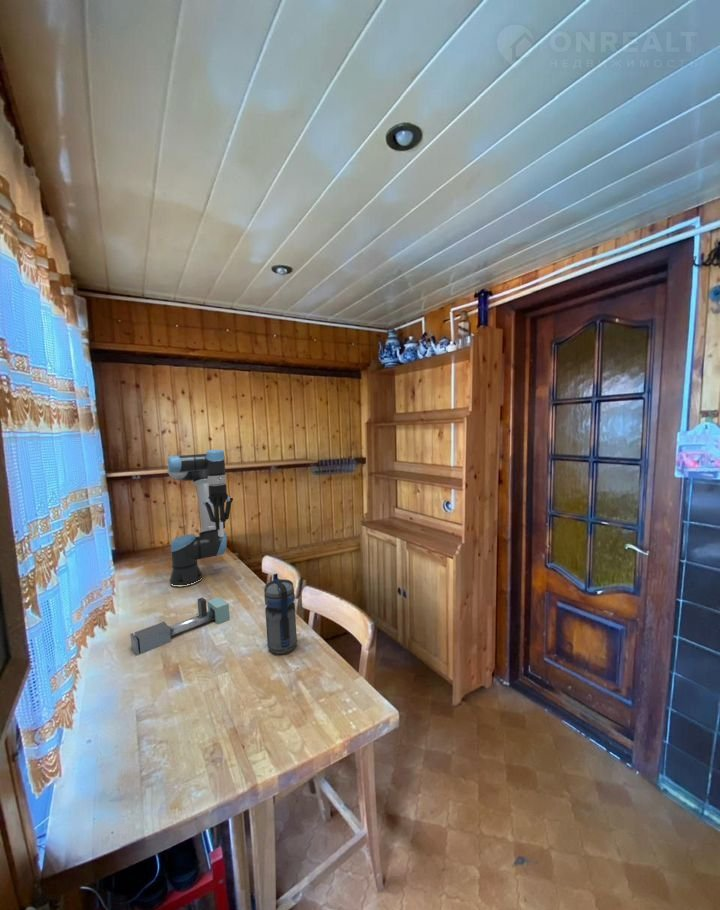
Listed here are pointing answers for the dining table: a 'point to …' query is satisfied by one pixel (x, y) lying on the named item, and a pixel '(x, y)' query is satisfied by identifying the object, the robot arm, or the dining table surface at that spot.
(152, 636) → the outer sleeve
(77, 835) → the dining table surface
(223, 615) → the pale blue rectangular block
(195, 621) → the block with metal shaft
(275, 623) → the beverage bottle
